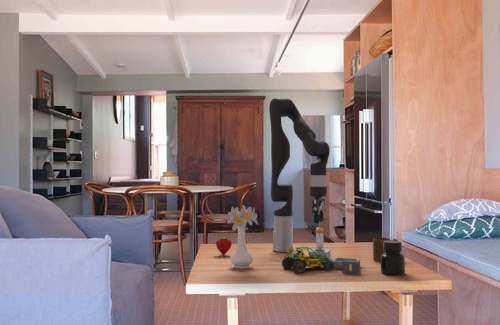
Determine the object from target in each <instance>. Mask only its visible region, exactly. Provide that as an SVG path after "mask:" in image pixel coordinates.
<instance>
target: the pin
mask: <svg viewBox="0 0 500 325" xmlns="http://www.w3.org/2000/svg"><path fill="white" fill-rule="evenodd" d="M315 249H316V251H320V252H323V249H324V227H316V228H315Z"/></svg>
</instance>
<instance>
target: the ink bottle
mask: <svg viewBox="0 0 500 325" xmlns="http://www.w3.org/2000/svg"><path fill="white" fill-rule="evenodd" d="M383 249H384V250H383V251H385V252H384V253H383V254H382V255H381V262H380V272H381V274H385V275H388V276H401V275H402V276H403V275H405V273H406V257H405V255H404V254H403V253H402V251H403V242H402V241H401V240H398V241H393V239H391V240H387V241H383Z"/></svg>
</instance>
